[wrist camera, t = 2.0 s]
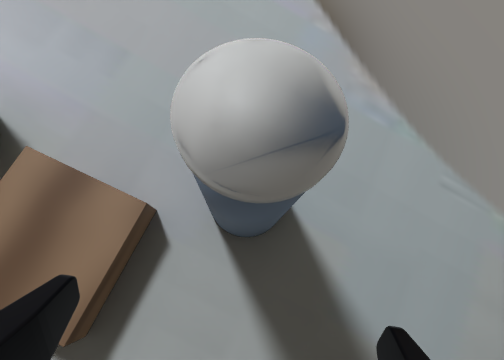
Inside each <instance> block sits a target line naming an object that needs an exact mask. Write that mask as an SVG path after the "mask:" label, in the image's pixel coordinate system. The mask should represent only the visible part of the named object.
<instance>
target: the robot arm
mask: <svg viewBox="0 0 504 360" xmlns="http://www.w3.org/2000/svg"><path fill="white" fill-rule="evenodd" d="M79 300H80V293H79V288H78V283H77V279H76V277H75V276H71V275H65V274H61V275H58V276H56V277H54V278H53V279H51V280H49V281H48V282H46V283H44V284H43V285H41V286H39V287H38V288H36V289H34V290H33V291H31V292H29V293H28V294H26V295H24V296H23V297H21V298H19V299H18V300H16V301H14V302H13V303H11V304H9V305H8V306H6V307H4V308H3V309H1V310H0V360H50V359H51V358H52V356H53V354H54V352H55V350H56V348H57V346H58V344H59V342H60V340H61V338H62V336H63V334H64V332H65V330H66V328H67V326H68V324H69V321H70V319H71V317H72V315H73V313H74V311H75V309H76V307H77V305H78V303H79ZM377 357H378V360H430V359H429V357H428V356H427V355H426V354H425V353H424V352H423V351H422V349H421V348H420V347H419V346H418V345H417V344H416V342H415V341H414V340H413V339H412V338H411V337H410V336H409V334H408V333H407V332H406V331H405V330H404V329H402V328H400V327H394V326H388V327H386V328H385V330H384V332H383V333H382V335H381V337H380V339H379V340H378V343H377Z"/></svg>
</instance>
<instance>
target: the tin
mask: <svg viewBox="0 0 504 360" xmlns="http://www.w3.org/2000/svg"><path fill="white" fill-rule="evenodd" d="M170 119H171V129H172V133H173V137H174V140H175V143H176V145H177V147H178V150H179V152H180V154H181V156H182V158H183V159H184V161H185V163H186V165H187V166H188V167H189V169H190V170H191V171H192V172H193V174H194V177H195V179H196V181H197V183H198V185H199V187H200V190H201V192H202V194H203V196H204V198H205V200H206V203H207V205H208V207H209V209H210V211H211V213H212V216H213V218H214V219H215V221H216V222H217V223H218V225H219V226H220V227H221V228H223V229H224V230H225V231H227V232H229V233H231V234H233V235H236V236H241V237H252V236H257V235H260V234H262V233H264V232H266V231H268V230H269V229H270V228H271V227H273V225H274V224H275V223H276V222H277V221H278V220H279V219H280V218H281V217H282V216H283V215H284V214H285V213H286V212H287V211H288V210H289V209H290V207H291V206H292V205H293V204H294V203H295V202H296V201H297V200H298V199H299V198H300V197H301V196H302V195H303V194H304V193H305V192H306V191H307V190H309V189H310V188H312V187H313V186H314V185H315V184H317V183H318V182H319V181H320V180H321V179H322V178H323V177H324V176H325V175H326V174H327V173H328V172H329V171H330V170H331V169H332V168H333V166H334V165H335V163H336V162H337V160H338V159H339V157H340V155H341V153H342V151H343V149H344V146H345V143H346V139H347V134H348V128H349V116H348V108H347V104H346V100H345V97H344V94H343V92H342V90H341V87H340V86H339V84H338V82H337V81H336V79H335V78H334V76H333V75H332V74H331V72H330V71H329V70H328V69H327V68H326V67H325V66H324V65H323V64H322V63H321V62H320V61H319V60H317V59H316V58H315V57H314V56H312V55H311V54H309V53H308V52H306V51H304V50H302V49H300V48H298V47H296V46H294V45H291V44H288V43H285V42H282V41H277V40H273V39H265V38H249V39H240V40H235V41H231V42H228V43H225V44H222V45H220V46H217V47H215V48H213V49H211V50H210V51H208V52H206V53H205V54H203V55H202V56H201V57H199V58H198V59H197V60H196V61H194V63H193V64H192V65H191V66H190V67H189V68H188V69H187V70H186V72H185V73H184V74H183V76H182V77H181V79H180V81H179V83H178V85H177V87H176V89H175V92H174V95H173V99H172V104H171V114H170Z"/></svg>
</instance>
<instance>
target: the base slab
mask: <svg viewBox="0 0 504 360" xmlns="http://www.w3.org/2000/svg"><path fill="white" fill-rule="evenodd" d="M155 212H156V209H154V208H153V207H151V206H150V205H149V204H147V203H145V202H143V201H141V200H139V199H137V198H135V197H133V196H131V195H128V194H126V193H124V192H122V191H120V190H118V189H116V188H114V187H112V186H110V185H107V184H105V183H103V182H101V181H99V180H97V179H95V178H93V177H91V176H88V175H86V174H84V173H82V172H80V171H78V170H76V169H74V168H72V167H70V166H67V165H65V164H63V163H61V162H59V161H57V160H55V159H53V158H51V157H49V156H46V155H44V154H42V153H40V152H38V151H36V150H34V149H32V148H30V147H28V146H26V147H25V148H24V149H23V151H22V152H21V153H20V155H19V156H18V157H17V159H16V160H15V161H14V163H13V164H12V165H11V167H10V168H9V170H8V171H7V172H6V174H5V175H4V176H3V178H2V179H1V180H0V310H1V309H3V308H4V307H6V306H8V305H9V304H11V303H13V302H14V301H16V300H18V299H19V298H21V297H23V296H24V295H26V294H28V293H29V292H31V291H33V290H34V289H36V288H38V287H39V286H41V285H43V284H44V283H46V282H48V281H49V280H51V279H53V278H54V277H56V276H58V275H61V274H65V275H71V276H75V277H76V279H77V283H78V288H79V293H80V300H79V303H78V305H77V307H76V309H75V311H74V313H73V315H72V317H71V319H70V321H69V324H68V326H67V328H66V330H65V332H64V334H63V336H62V338H61V340H60V342H59V345H61V346H63V347H65V346H67V345H69V344H71V343H73V342H75V341H77V340H79V339H82V338H84V337H85V336H86V335H87V333H88V331H89V329H90V327H91V326H92V324H93V322H94V320H95V319H96V317H97V315H98V313H99V312H100V310H101V308H102V306H103V304H104V303H105V301H106V299H107V297H108V296H109V294H110V292H111V290H112V288H113V287H114V285H115V283H116V281H117V280H118V278H119V276H120V274H121V273H122V271H123V269H124V267H125V265H126V264H127V262H128V260H129V258H130V257H131V255H132V253H133V251H134V249H135V248H136V246H137V244H138V242H139V241H140V239H141V237H142V235H143V233H144V232H145V230H146V228H147V226H148V225H149V223H150V221H151V219H152V218H153V216H154V214H155Z"/></svg>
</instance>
